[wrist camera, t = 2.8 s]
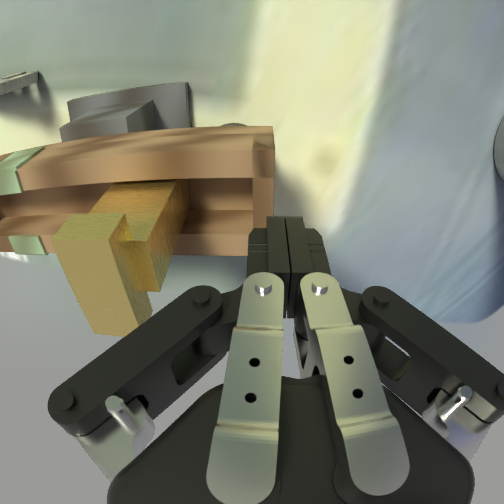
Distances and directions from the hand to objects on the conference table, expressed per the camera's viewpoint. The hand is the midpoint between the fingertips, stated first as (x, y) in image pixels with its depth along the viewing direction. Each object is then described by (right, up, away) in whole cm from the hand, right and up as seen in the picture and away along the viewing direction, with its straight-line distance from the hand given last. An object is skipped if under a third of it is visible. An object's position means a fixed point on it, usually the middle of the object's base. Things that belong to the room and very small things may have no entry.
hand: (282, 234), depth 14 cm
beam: (-11, +8, +10) cm, 17 cm away
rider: (-7, +3, +4) cm, 8 cm away
